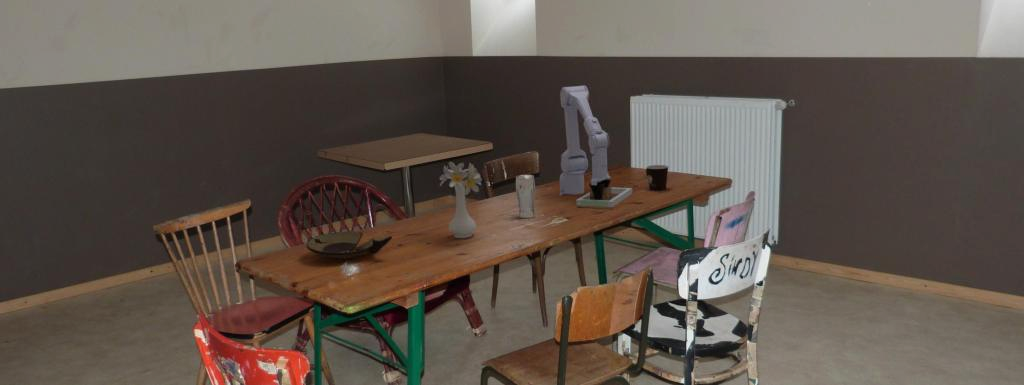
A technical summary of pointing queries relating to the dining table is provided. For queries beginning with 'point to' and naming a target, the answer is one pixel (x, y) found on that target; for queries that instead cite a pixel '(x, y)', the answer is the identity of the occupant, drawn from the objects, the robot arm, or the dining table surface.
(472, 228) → the flower vase
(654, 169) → the coffee mug
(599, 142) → the robot arm
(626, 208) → the dining table surface
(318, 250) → the oil lamp
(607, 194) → the cardboard box
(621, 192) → the bay
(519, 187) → the beer glass
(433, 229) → the dining table surface
